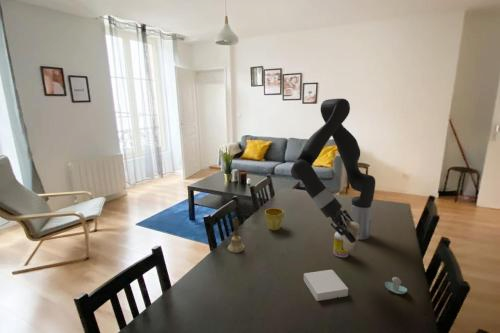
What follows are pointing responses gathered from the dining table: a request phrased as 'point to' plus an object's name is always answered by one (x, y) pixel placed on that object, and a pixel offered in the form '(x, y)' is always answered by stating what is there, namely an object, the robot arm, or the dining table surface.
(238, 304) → the dining table surface
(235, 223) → the hand bell
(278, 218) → the plant pot
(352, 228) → the birch post
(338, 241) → the supplement bottle
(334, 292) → the plinth
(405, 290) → the pacifier
